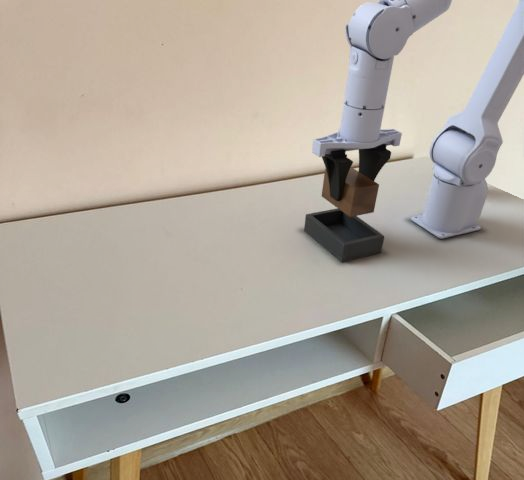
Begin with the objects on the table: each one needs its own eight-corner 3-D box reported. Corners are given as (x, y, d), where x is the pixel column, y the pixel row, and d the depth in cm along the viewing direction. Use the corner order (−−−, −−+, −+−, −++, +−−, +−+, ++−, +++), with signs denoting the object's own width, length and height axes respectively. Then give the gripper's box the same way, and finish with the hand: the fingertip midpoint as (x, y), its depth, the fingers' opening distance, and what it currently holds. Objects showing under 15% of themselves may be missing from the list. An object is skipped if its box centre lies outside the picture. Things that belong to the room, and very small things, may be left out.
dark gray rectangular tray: (341, 223, 96) (344, 206, 94) (381, 252, 88) (384, 236, 86) (303, 230, 93) (305, 214, 91) (341, 262, 85) (344, 245, 83)
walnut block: (344, 192, 91) (348, 165, 88) (373, 212, 85) (379, 184, 82) (321, 196, 89) (325, 168, 86) (349, 217, 83) (354, 188, 81)
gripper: (387, 92, 83) (371, 179, 92) (305, 100, 77) (296, 192, 86) (418, 105, 78) (397, 196, 87) (333, 115, 73) (320, 211, 81)
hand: (349, 196), depth 86 cm, fingers closed on walnut block, 4 cm apart
